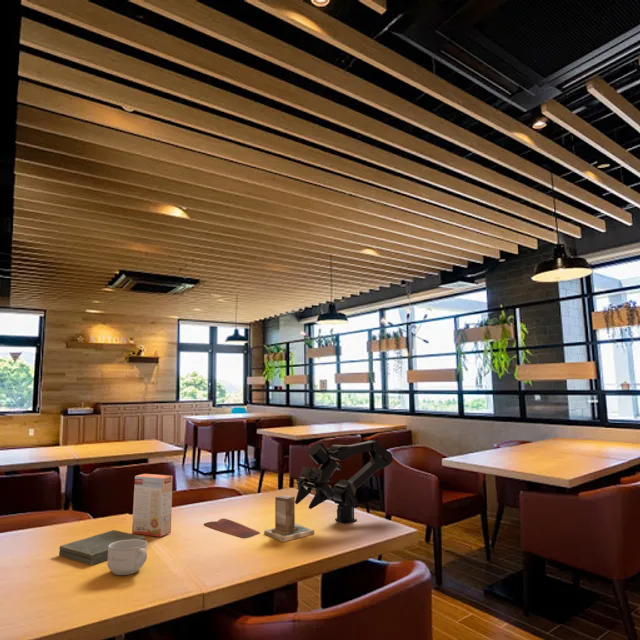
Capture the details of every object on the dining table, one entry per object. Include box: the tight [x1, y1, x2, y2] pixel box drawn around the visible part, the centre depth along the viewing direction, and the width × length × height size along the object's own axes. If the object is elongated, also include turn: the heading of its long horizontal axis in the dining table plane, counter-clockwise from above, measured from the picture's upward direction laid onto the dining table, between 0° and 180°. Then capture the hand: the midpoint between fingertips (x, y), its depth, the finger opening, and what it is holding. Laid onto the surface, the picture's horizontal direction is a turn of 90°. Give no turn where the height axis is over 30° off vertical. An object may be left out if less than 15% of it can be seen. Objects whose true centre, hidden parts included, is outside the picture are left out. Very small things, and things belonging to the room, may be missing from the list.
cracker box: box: [131, 473, 174, 538], centre depth 176 cm, size 14×6×21 cm, turn 65°
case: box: [58, 529, 146, 566], centre depth 156 cm, size 18×4×20 cm
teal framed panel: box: [263, 522, 315, 543], centre depth 172 cm, size 14×12×1 cm
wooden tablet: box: [203, 518, 261, 539], centre depth 179 cm, size 27×10×2 cm, turn 45°
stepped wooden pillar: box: [271, 494, 298, 535], centre depth 172 cm, size 7×7×12 cm
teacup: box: [107, 539, 148, 576], centre depth 137 cm, size 14×11×8 cm
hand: (302, 505), depth 177 cm, fingers open, 9 cm apart
